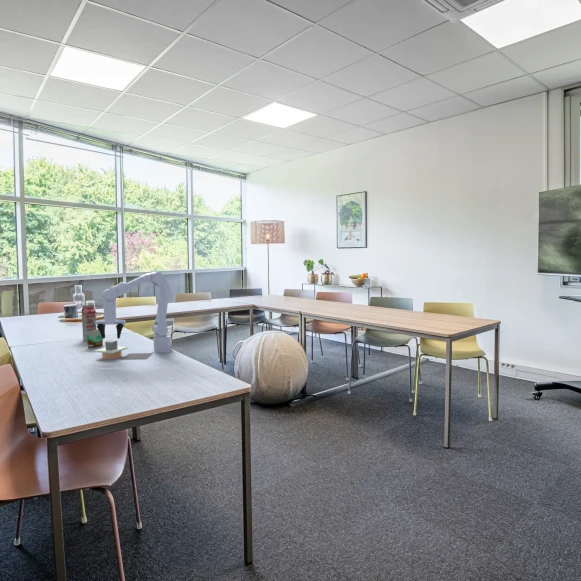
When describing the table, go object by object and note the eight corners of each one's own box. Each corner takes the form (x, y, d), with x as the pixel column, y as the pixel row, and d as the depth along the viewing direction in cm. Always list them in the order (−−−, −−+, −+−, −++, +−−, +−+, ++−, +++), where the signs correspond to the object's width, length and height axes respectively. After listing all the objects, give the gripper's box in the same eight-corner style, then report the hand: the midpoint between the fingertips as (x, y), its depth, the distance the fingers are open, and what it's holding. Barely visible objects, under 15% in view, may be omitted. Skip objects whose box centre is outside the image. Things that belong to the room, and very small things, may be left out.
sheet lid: (127, 348, 218) (127, 339, 218) (112, 353, 208) (112, 344, 207) (110, 347, 222) (110, 338, 221) (95, 351, 211) (94, 342, 211)
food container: (95, 348, 235) (95, 331, 234) (86, 348, 236) (85, 331, 236) (109, 344, 247) (108, 327, 246) (100, 343, 249) (99, 327, 248)
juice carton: (83, 339, 260) (81, 305, 258) (94, 338, 264) (92, 304, 262) (85, 341, 254) (83, 306, 252) (97, 340, 258) (95, 305, 256)
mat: (153, 354, 223) (153, 353, 223) (146, 360, 210) (146, 359, 210) (128, 354, 222) (128, 353, 222) (120, 360, 209) (120, 359, 209)
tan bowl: (123, 355, 220) (123, 348, 220) (117, 359, 211) (117, 352, 211) (106, 355, 219) (106, 348, 219) (99, 360, 210) (99, 352, 210)
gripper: (126, 311, 217) (128, 336, 219) (98, 311, 216) (99, 336, 218) (122, 313, 210) (123, 339, 212) (93, 313, 209) (94, 339, 211)
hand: (111, 338), depth 214 cm, fingers open, 7 cm apart
